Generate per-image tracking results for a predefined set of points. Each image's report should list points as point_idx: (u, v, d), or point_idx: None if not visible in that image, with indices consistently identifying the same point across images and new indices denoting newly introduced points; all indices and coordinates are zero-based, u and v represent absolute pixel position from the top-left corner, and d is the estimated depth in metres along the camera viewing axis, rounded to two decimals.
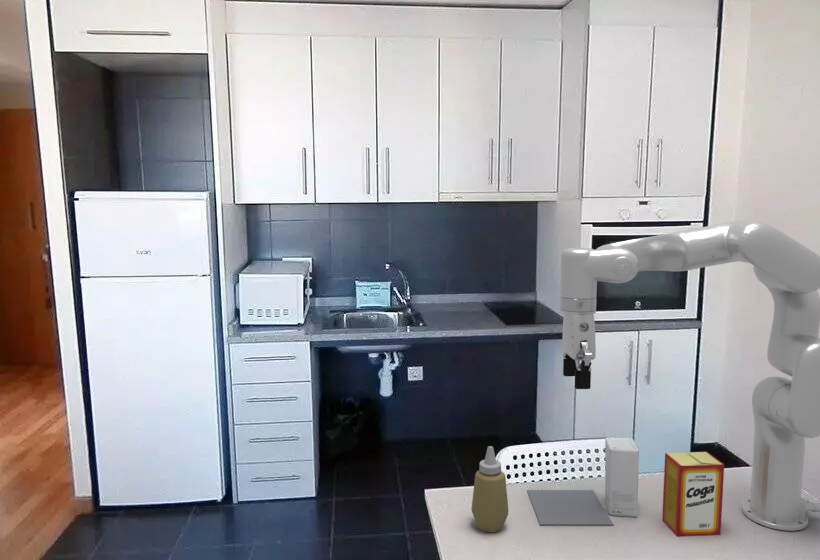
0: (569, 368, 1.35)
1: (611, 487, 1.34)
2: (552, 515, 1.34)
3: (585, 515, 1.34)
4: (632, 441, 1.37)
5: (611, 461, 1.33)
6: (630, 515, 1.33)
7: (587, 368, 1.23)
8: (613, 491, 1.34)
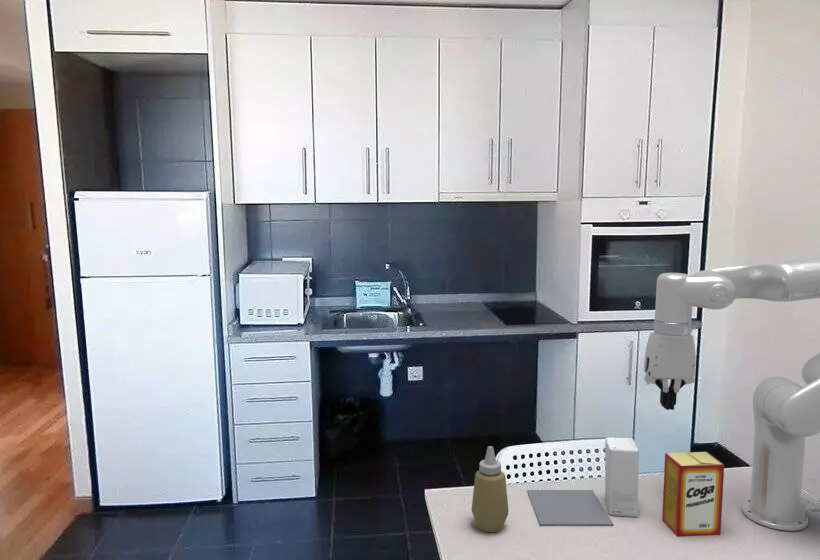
0: None
1: (611, 487, 1.34)
2: (552, 515, 1.34)
3: (585, 515, 1.34)
4: (632, 441, 1.37)
5: (611, 461, 1.33)
6: (630, 515, 1.33)
7: None
8: (613, 491, 1.34)
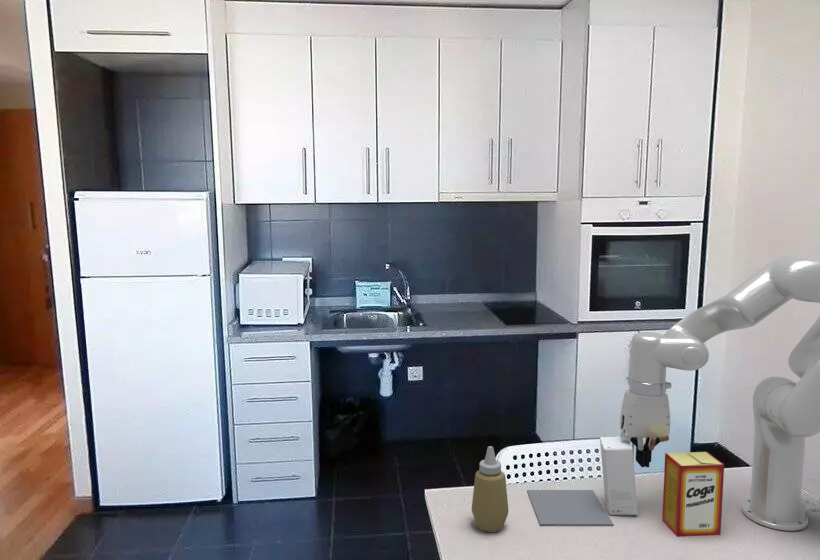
0: None
1: (608, 487, 1.34)
2: (552, 515, 1.34)
3: (585, 515, 1.34)
4: None
5: (606, 461, 1.33)
6: (630, 513, 1.33)
7: None
8: (611, 490, 1.34)
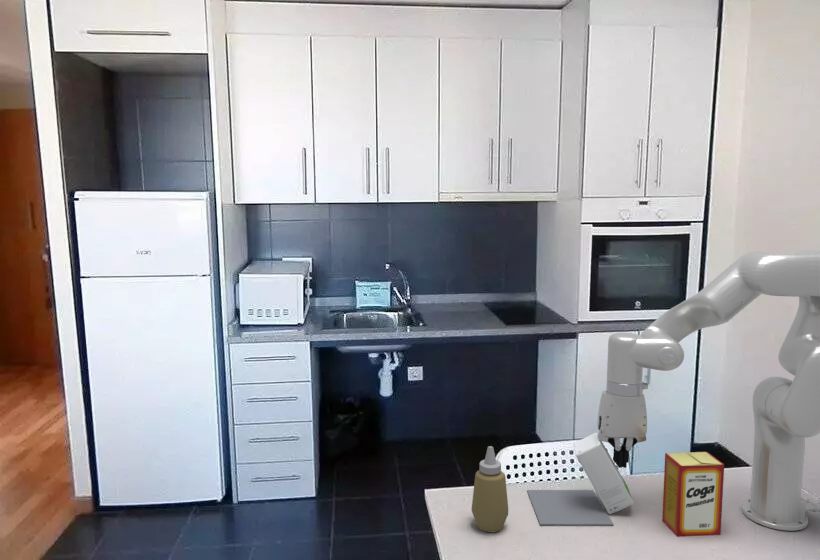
0: None
1: (596, 488, 1.34)
2: (552, 515, 1.34)
3: (585, 515, 1.34)
4: (596, 435, 1.39)
5: (582, 465, 1.34)
6: (627, 505, 1.33)
7: None
8: (599, 491, 1.34)
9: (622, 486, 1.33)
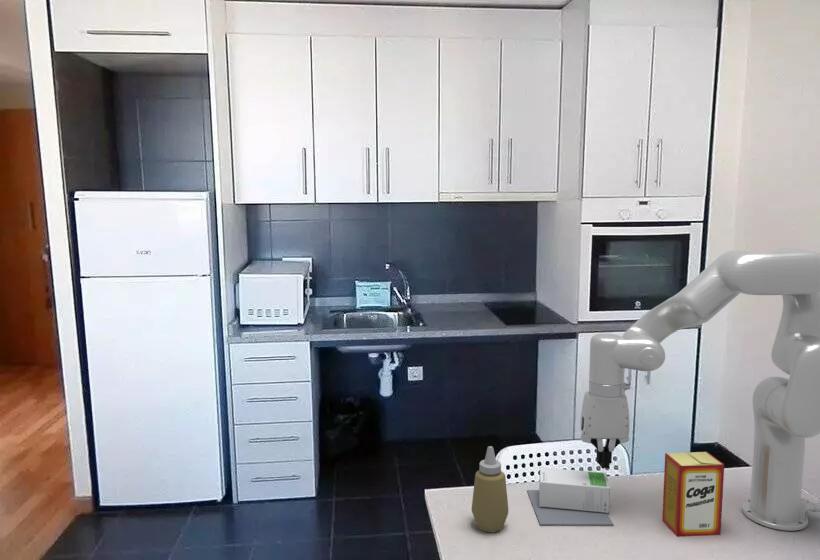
0: None
1: (579, 509, 1.35)
2: (552, 515, 1.34)
3: (585, 515, 1.34)
4: (540, 472, 1.42)
5: (552, 506, 1.37)
6: (608, 494, 1.34)
7: None
8: (583, 507, 1.35)
9: (588, 487, 1.34)
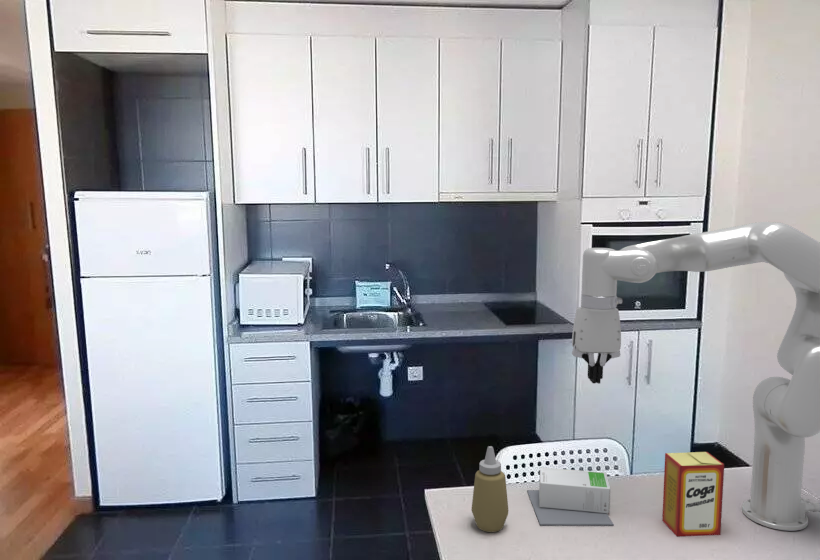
0: None
1: (579, 509, 1.35)
2: (552, 515, 1.34)
3: (585, 515, 1.34)
4: (540, 472, 1.42)
5: (552, 507, 1.37)
6: (608, 495, 1.33)
7: None
8: (583, 508, 1.35)
9: (588, 488, 1.34)
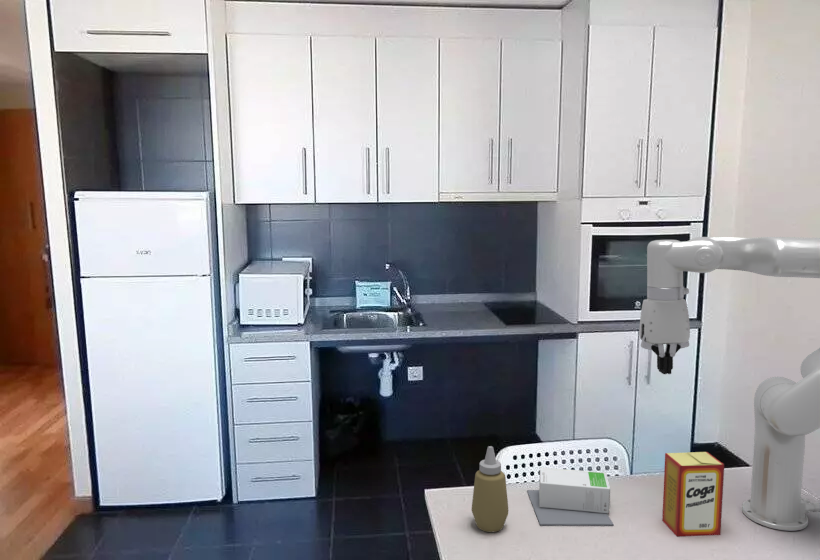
0: None
1: (579, 509, 1.35)
2: (552, 515, 1.34)
3: (585, 515, 1.34)
4: (540, 472, 1.42)
5: (552, 507, 1.37)
6: (608, 495, 1.33)
7: None
8: (583, 508, 1.35)
9: (588, 488, 1.34)
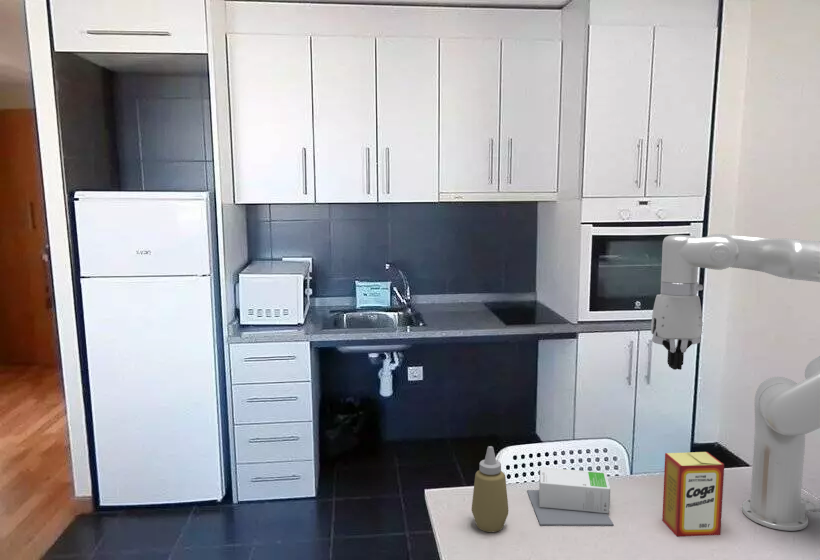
0: None
1: (579, 509, 1.35)
2: (552, 515, 1.34)
3: (585, 515, 1.34)
4: (540, 472, 1.42)
5: (552, 507, 1.37)
6: (608, 495, 1.33)
7: None
8: (583, 508, 1.35)
9: (588, 488, 1.34)
